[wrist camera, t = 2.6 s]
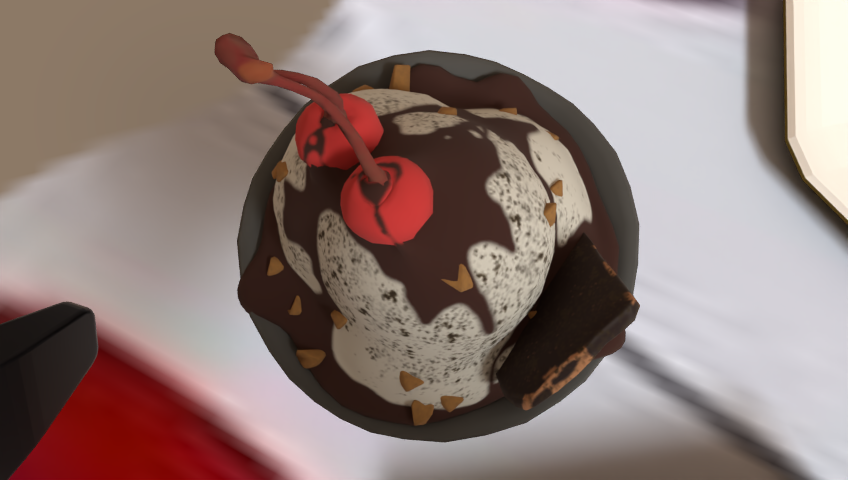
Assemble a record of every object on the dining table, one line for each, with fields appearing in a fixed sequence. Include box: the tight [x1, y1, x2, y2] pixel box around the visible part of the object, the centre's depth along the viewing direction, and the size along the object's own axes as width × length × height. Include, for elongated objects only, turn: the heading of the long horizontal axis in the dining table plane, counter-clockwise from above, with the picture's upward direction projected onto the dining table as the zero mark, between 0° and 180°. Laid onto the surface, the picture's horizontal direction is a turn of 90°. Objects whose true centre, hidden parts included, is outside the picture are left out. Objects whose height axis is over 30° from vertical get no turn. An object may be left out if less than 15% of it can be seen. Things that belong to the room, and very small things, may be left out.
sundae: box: [215, 33, 640, 442], centre depth 14 cm, size 7×7×15 cm
